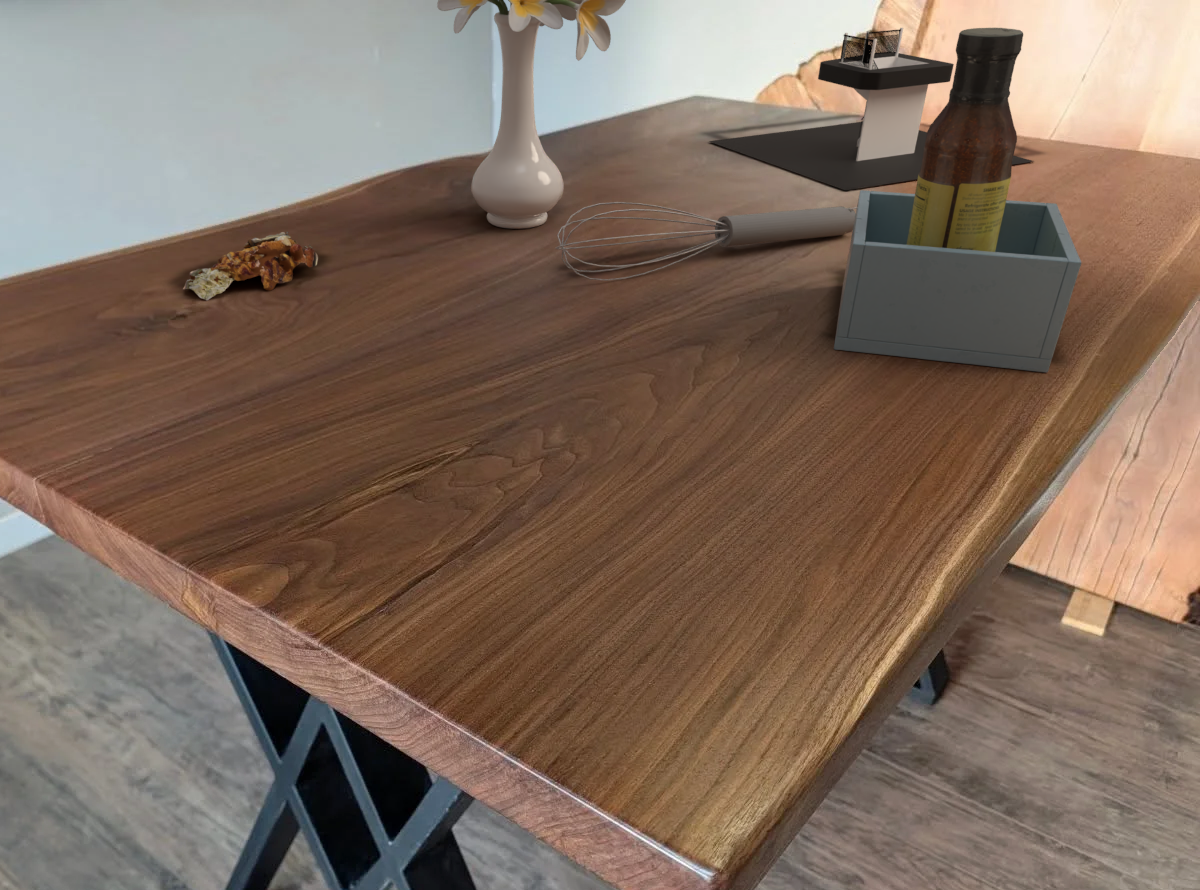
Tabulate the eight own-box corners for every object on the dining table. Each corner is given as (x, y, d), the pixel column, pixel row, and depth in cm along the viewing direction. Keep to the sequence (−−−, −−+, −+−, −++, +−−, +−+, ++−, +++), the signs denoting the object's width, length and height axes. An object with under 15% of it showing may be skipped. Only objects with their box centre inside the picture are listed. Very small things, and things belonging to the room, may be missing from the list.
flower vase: (581, 251, 98) (593, -54, 84) (414, 225, 106) (400, -59, 92) (632, 215, 108) (651, -65, 94) (476, 194, 115) (472, -68, 101)
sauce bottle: (987, 307, 82) (1060, 27, 71) (969, 333, 78) (1044, 39, 67) (902, 292, 85) (959, 21, 74) (880, 316, 81) (938, 33, 70)
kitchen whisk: (885, 239, 100) (898, 170, 96) (576, 298, 88) (578, 223, 85) (841, 222, 104) (852, 157, 101) (542, 277, 93) (543, 205, 89)
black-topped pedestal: (879, 120, 143) (899, 12, 136) (1034, 162, 123) (1068, 38, 116) (707, 142, 134) (719, 27, 127) (845, 191, 114) (868, 58, 107)
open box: (1028, 302, 85) (1056, 203, 81) (1047, 373, 74) (1081, 262, 70) (842, 285, 89) (860, 189, 85) (833, 349, 78) (853, 243, 74)
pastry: (171, 289, 91) (164, 248, 89) (281, 255, 98) (276, 217, 96) (218, 308, 87) (212, 265, 85) (329, 271, 94) (325, 231, 92)
